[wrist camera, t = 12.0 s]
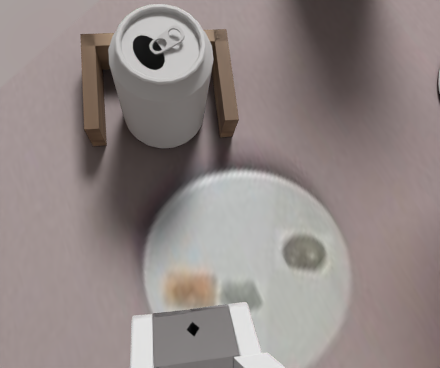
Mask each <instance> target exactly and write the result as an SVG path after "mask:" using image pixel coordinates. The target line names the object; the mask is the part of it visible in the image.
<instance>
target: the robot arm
mask: <svg viewBox="0 0 440 368" xmlns="http://www.w3.org/2000/svg"><path fill="white" fill-rule="evenodd" d="M439 92H440V71H439ZM130 368H285V367H284V366H283V365H282V364H281V363H279V362H278V361H277V360H276V359H275V358H274V357H273V356H271V355H270V354H269V353H268V352H266V353H262V351H261V347H260V344H259V341H258V337H257V334H256V330H255V327H254V324H253V320H252V317H251V313H250V310H249V306H248V304H247V303H246V302H241V303H234V304H228V305H227V304H225V305H218V306H210V307H203V308H196V309H190V310H183V311H173V312H163V313H153V314H146V315H136V316H133V318H132V325H131V354H130Z"/></svg>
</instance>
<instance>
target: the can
mask: <svg viewBox="0 0 440 368" xmlns="http://www.w3.org/2000/svg"><path fill="white" fill-rule="evenodd" d="M108 52H109V65H110V69H111V73H112V76H113V80H114V83H115V87H116V91H117V94H118V98H119V101H120V105H121V109H122V112H123V116H124V119H125V122H126V124H127V126H128V129H129V130H130V132H131V133H132V134H133V135H134V136H135V137H136V138H137V139H138V140H140V141H141V142H143V143H145V144H147V145H148V146H153V147H157V148H174V147H177V146H179V145H182V144H184V143H186V142H188V141H189V140H190V139H191V138H193V137H194V136H195V135H196V133H197V132H198V130H199V129H200V127H201V125H202V121H203V117H204V112H205V106H206V101H207V95H208V89H209V83H210V77H211V72H212V66H213V60H214V59H213V51H212V45H211V43H210V41H209V39H208V37H207V35H206V33H205V32H204V30H203V29H202V28H201V26H200V24H199V23H198V22H197V21H196V20H195V19H194V18H193V17H192V16H191V15H190V14H189V13H187V12H185V11H184V10H182V9H180V8H178V7H174V6H170V5H166V4H150V5H147V6H144V7H140V8H137V9H136V10H134V11H133V12H131V13H130V14H128V15H127V16H126V17H125V18H124V19H123V21H122V22H121V23H120V25H119V26H118V29H117V31H116V32H115V33H114V35H113V36H112V39H111V43H110V46H109V49H108Z"/></svg>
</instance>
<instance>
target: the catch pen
mask: <svg viewBox="0 0 440 368" xmlns="http://www.w3.org/2000/svg"><path fill="white" fill-rule="evenodd" d="M204 32H205V33H206V35H207V37H208V39H209V41H210V43H211V45H212V51H213V59H214V60H213V66H212V76H213V84H214V93H215V101H216V109H217V117H218V125H219V133H220V137H232V136H233V134H234V131H235V128H236V125H237V123H238V120H239V118H238V110H237V103H236V96H235V89H234V81H233V74H232V67H231V60H230V52H229V45H228V38H227V31H226V29H218V30H204ZM113 35H114V33H102V34H81V59H82V85H83V112H84V130H85V132H86V134H87V136H88V138H89V139H90V141H91V143H92V145H93V146H104V145H107V143H106V124H105V105H104V85H103V70H107V69H110V65H109V52H108V49H109V46H110V43H111V39H112V36H113Z"/></svg>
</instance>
